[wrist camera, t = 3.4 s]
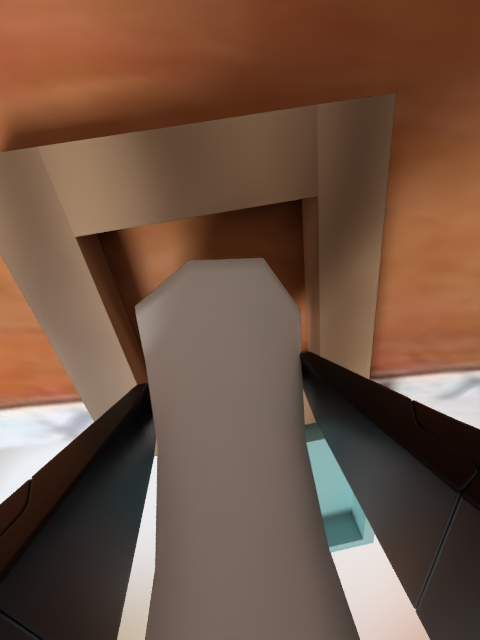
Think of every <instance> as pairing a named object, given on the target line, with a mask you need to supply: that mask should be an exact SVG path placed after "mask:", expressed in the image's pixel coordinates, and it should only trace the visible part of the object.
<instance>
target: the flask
mask: <svg viewBox="0 0 480 640" xmlns="http://www.w3.org/2000/svg"><path fill="white" fill-rule="evenodd" d="M135 311H136V318H137V323H138V328H139V333H140V338H141V343H142V348H143V353H144V358H145V363H146V370H147V377H148V384H149V390H150V397H151V404H152V411H153V418H154V425H155V432H156V439H157V446H158V458H157V507H156V508H157V511H156V558H155V574H154V580H153V587H152V594H151V601H150V608H149V616H148V623H147V629H146V636H145V640H360V638H359V635H358V632H357V629H356V626H355V624H354V620H353V618H352V614H351V612H350V609H349V606H348V603H347V600H346V597H345V594H344V591H343V588H342V585H341V582H340V579H339V576H338V573H337V571H336V567H335V565H334V562H333V559H332V556H331V553H330V550H329V546H328V541H327V537H326V532H325V527H324V523H323V518H322V513H321V509H320V504H319V499H318V495H317V490H316V485H315V481H314V476H313V471H312V467H311V462H310V457H309V453H308V448H307V444H306V436H305V418H304V400H303V382H302V364H301V359H300V353H301V310H300V308H299V307H298V306H297V304H296V303H295V301H294V300H293V299H292V297H291V296H290V294H289V293H288V292H287V290H286V289H285V288H284V286H283V285H282V283H281V282H280V281H279V279H278V278H277V276H276V275H275V274H274V272H273V271H272V269H271V268H270V267H269V265H268V264H267V263H266V261H265V260H264V258H242V259H214V260H189V261H187V262H186V263H185V264H184V265H183V266H181V267H180V268H179V269H178V270H177V271H176V272H174V273H173V274H172V275H171V276H170V277H169V278H167V279H166V280H165V281H164V282H163V283H161V284H160V285H159V286H158V287H157V288H156V289H154V290H153V291H152V292H151V293H150V294H149V295H147V296H146V297H145V298H144V299H143V300H141V301H140V302H139V303H138V304H137V305H136V306H135Z"/></svg>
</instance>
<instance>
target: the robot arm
mask: <svg viewBox="0 0 480 640" xmlns="http://www.w3.org/2000/svg"><path fill="white" fill-rule="evenodd" d="M300 359H301V364H302V382H303V390H304V393H305V395H306V398H307V400H308V403H309V406H310V408H311V411H312V413H313V416H314V418H315V421H316V423H317V425H318V427H319V429H320V430H321V432H322V434H323V436H324V438H325V440H326V442H327V444H328V446H329V448H330V449H331V451H332V453H333V455H334V457H335V459H336V461H337V463H338V465H339V467H340V468H341V470H342V472H343V474H344V476H345V478H346V480H347V482H348V484H349V486H350V487H351V489H352V491H353V493H354V495H355V497H356V499H357V501H358V503H359V505H360V506H361V508H362V510H363V512H364V514H365V516H366V518H367V520H368V522H369V523H370V525H371V527H372V529H373V531H374V533H375V535H376V537H377V539H378V541H379V542H380V544H381V546H382V548H383V550H384V552H385V554H386V556H387V557H388V559H389V561H390V563H391V565H392V567H393V569H394V571H395V573H396V575H397V577H398V578H399V580H400V582H401V584H402V586H403V588H404V590H405V592H406V594H407V596H408V597H409V599H410V601H411V603H412V605H413V607H414V608H415V609H416V613H417V615H418V617H419V619H420V620H421V622H422V625H423V626H424V628H425V630H426V632H427V634H428V636H429V638H430V640H480V429H478V428H475V427H473V426H470V425H468V424H465V423H463V422H461V421H458V420H456V419H454V418H452V417H449V416H447V415H445V414H443V413H440V412H438V411H436V410H434V409H432V408H429V407H427V406H425V405H423V404H421V403H419V402H417V401H414V400H413V401H412V400H411V399H410V398H408V397H406V396H404V395H402V394H399V393H397V392H395V391H393V390H391V389H389V388H387V387H385V386H382V385H380V384H378V383H376V382H374V381H372V380H370V379H368V378H366V377H363V376H361V375H359V374H357V373H355V372H353V371H351V370H349V369H346V368H344V367H342V366H340V365H338V364H336V363H334V362H332V361H329V360H327V359H325V358H323V357H321V356H319V355H317V354H315V353H312V352H310V351H307V352H302V353H300ZM155 445H156V432H155V425H154V418H153V411H152V404H151V397H150V390H149V384H148V383H142V384H138V385H136V386H135V387H133V388H132V389H131V390H130V391H129V392H128V393H127V394H126V395H124V396H123V397H122V398H121V399H120V400H119V401H118V402H116V403H115V404H114V405H113V406H112V407H111V408H110V409H108V410H107V411H106V412H105V413H104V414H103V415H102V416H101V417H99V418H98V419H97V420H96V421H95V422H94V423H93V424H91V425H90V426H89V427H88V428H87V429H86V430H85V431H83V432H82V433H81V434H80V435H79V436H78V437H77V438H75V439H74V440H73V441H72V442H71V443H70V444H69V445H68V446H67V447H65V448H64V449H63V450H62V451H61V452H60V453H59V454H57V455H56V456H55V457H54V458H53V459H52V460H50V461H49V462H48V463H47V464H46V465H45V466H44V467H43V468H41V469H40V470H39V471H38V472H37V473H36V474H35V475H34V476H32V479H30V480H28V481H26V482H25V483H24V484H23V485H22V486H21V487H20V488H19V489H18V490H16V491H15V492H14V493H13V494H12V495H11V496H10V497H8V498H7V499H6V500H5V501H4V502H3V503H1V504H0V640H117V636H118V631H119V627H120V622H121V617H122V612H123V607H124V602H125V597H126V592H127V587H128V582H129V577H130V572H131V568H132V563H133V557H134V553H135V548H136V543H137V538H138V533H139V528H140V523H141V518H142V513H143V509H144V504H145V499H146V494H147V488H148V484H149V479H150V474H151V469H152V464H153V459H154V453H155Z"/></svg>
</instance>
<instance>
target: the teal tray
mask: <svg viewBox="0 0 480 640" xmlns="http://www.w3.org/2000/svg"><path fill="white" fill-rule="evenodd" d="M305 436H306V444H307V448H308V453H309V457H310V462H311V467H312V471H313V476H314V481H315V485H316V490H317V495H318V499H319V504H320V509H321V513H322V518H323V523H324V527H325V532H326V537H327V541H328V546H329V550H330V553H331V552H335V551H339V550H343V549H348V548H352V547H356V546H360V545H365V544H369V543H373V540H374V534H375V533H374V531H373V529H372V527H371V525H370V523H369V522H368V520H367V518H366V516H365V514H364V512H363V510H362V508H361V506H360V505H359V503H358V501H357V499H356V497H355V495H354V493H353V491H352V489H351V487H350V486H349V484H348V482H347V480H346V478H345V476H344V474H343V472H342V470H341V468H340V467H339V465H338V463H337V461H336V459H335V457H334V455H333V453H332V451H331V449H330V448H329V446H328V444H327V442H326V440H325V438H324V436H323V434H322V432H321V430H320V429H319V427H318V425H317V423H311V424H306V425H305Z"/></svg>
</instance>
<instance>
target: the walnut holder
mask: <svg viewBox="0 0 480 640" xmlns="http://www.w3.org/2000/svg"><path fill="white" fill-rule="evenodd" d="M395 97H396V93H389V94H383V95H376V96H369V97H363V98H356V99H350V100H343V101H336V102H330V103H323V104H317V105H310V106H303V107H297V108H290V109H283V110H277V111H270V112H264V113H257V114H250V115H244V116H237V117H231V118H224V119H217V120H211V121H204V122H197V123H191V124H184V125H178V126H171V127H164V128H158V129H151V130H145V131H138V132H131V133H125V134H118V135H111V136H105V137H98V138H92V139H85V140H78V141H72V142H65V143H59V144H52V145H45V146H39V147H32V148H25V149H19V150H12V151H6V152H0V255H1V256H2V258H3V260H4V262H5V263H6V265H7V267H8V269H9V271H10V272H11V274H12V276H13V278H14V280H15V281H16V283H17V285H18V287H19V288H20V290H21V292H22V294H23V296H24V297H25V299H26V301H27V303H28V305H29V306H30V308H31V310H32V312H33V313H34V315H35V317H36V319H37V321H38V322H39V324H40V326H41V328H42V329H43V331H44V333H45V335H46V337H47V338H48V340H49V342H50V344H51V346H52V347H53V349H54V351H55V353H56V354H57V356H58V358H59V360H60V362H61V363H62V365H63V367H64V369H65V371H66V372H67V374H68V376H69V378H70V379H71V381H72V383H73V385H74V387H75V388H76V390H77V392H78V394H79V396H80V397H81V399H82V401H83V403H84V404H85V406H86V408H87V410H88V412H89V413H90V415H91V417H92V419H93V420H94V422H95V421H96V420H97V419H98V418H99V417H101V416H102V415H103V414H104V413H105V412H106V411H107V410H108V409H110V408H111V407H112V406H113V405H114V404H115V403H116V402H118V401H119V400H120V399H121V398H122V397H123V396H124V395H126V394H127V393H128V392H129V391H130V390H131V389H132V388H133V387H135V386H136V385H138V384H142V383H148V377H147V370H146V363H145V359H144V356H143V354H142V351H141V348H140V346H139V343H138V341H137V338H136V335H135V333H134V330H133V327H132V325H131V322H130V320H129V317H128V314H127V312H126V309H125V306H124V304H123V301H122V299H121V296H120V293H119V291H118V288H117V285H116V283H115V280H114V278H113V275H112V272H111V270H110V267H109V264H108V262H107V259H106V257H105V254H104V251H103V249H102V246H101V244H100V241H99V238H98V236H97V233H102V232H108V231H113V230H119V229H125V228H131V227H137V226H143V225H149V224H155V223H161V222H167V221H173V220H179V219H185V218H191V217H197V216H203V215H209V214H215V213H221V212H227V211H233V210H239V209H245V208H251V207H257V206H262V205H268V204H274V203H280V202H286V201H292V200H298V199H302V221H303V247H304V272H305V298H306V324H307V349H308V351H310V352H312V353H315V354H317V355H319V356H321V357H323V358H325V359H327V360H329V361H332V362H334V363H336V364H338V365H340V366H342V367H344V368H346V369H349V370H351V371H353V372H355V373H357V374H359V375H361V376H363V377H366V378H368V379H369V376H370V365H371V354H372V344H373V333H374V322H375V312H376V301H377V290H378V279H379V269H380V258H381V247H382V237H383V226H384V215H385V205H386V194H387V183H388V172H389V162H390V151H391V140H392V130H393V119H394V108H395ZM303 400H304V418H305V425H306V424H311V423H316V421H315V418H314V416H313V413H312V411H311V408H310V406H309V403H308V400H307V398H306V395H305V393H304V390H303ZM154 456H158V446H157V439H156V445H155V453H154Z"/></svg>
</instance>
